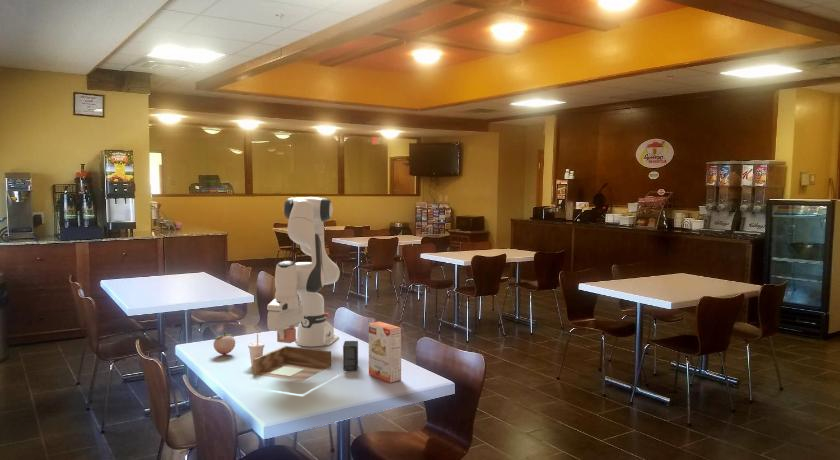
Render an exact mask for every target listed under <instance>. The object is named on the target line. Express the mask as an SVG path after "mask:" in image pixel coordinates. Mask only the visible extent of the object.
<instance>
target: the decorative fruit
mask: <svg viewBox="0 0 840 460" xmlns="http://www.w3.org/2000/svg"><path fill="white" fill-rule="evenodd" d="M223 333H224V334H223V335H217V336H216V337H215V338H214V340H213V348H214V350H215V351H216V353H218V354H220V355H222V356H226V355H228V354H229V353H231V352H233V350H234V349H235V347H236V340H235V338H234V337H235V336H234V335H233V334H230V333H228V334H226V333H225V332H223Z"/></svg>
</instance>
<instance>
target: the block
mask: <svg viewBox="0 0 840 460" xmlns="http://www.w3.org/2000/svg"><path fill="white" fill-rule="evenodd" d="M284 334H286V336H285V337H286V338H285V339H280V335H279V332H278V330H277V332H276V336H277V337H276V339H277V341H276V342H277V343H284V344H292V343H294V342H295V341H296V339H297V329H296V327H295V328H290V327H286V328H284ZM295 343H296V342H295Z"/></svg>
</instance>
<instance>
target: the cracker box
mask: <svg viewBox="0 0 840 460" xmlns="http://www.w3.org/2000/svg"><path fill="white" fill-rule="evenodd" d="M369 375H370V376H372V377H374V378H377V379H378V380H381V381H384V382H386V383H388V384H391V383H392V382H393V383H396V382H400V381H402V327H400V326H396V325H393V324H391V323H390V324H389V323H387V322H383V321H374V322H370V323H368V376H369Z"/></svg>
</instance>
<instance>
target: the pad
mask: <svg viewBox="0 0 840 460" xmlns="http://www.w3.org/2000/svg"><path fill="white" fill-rule="evenodd" d="M303 370H305V369H300V368H293V367H285V366H283V367H281V368H279V369H277V370H274V371H272V372H270V373H269V374H275V375H282V376H289V377H291V376H293V375H295V374H297V373H299V372H301V371H303Z"/></svg>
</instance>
